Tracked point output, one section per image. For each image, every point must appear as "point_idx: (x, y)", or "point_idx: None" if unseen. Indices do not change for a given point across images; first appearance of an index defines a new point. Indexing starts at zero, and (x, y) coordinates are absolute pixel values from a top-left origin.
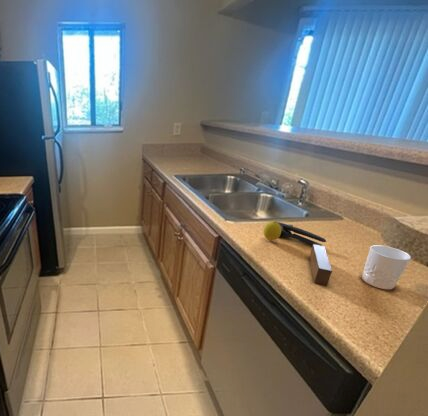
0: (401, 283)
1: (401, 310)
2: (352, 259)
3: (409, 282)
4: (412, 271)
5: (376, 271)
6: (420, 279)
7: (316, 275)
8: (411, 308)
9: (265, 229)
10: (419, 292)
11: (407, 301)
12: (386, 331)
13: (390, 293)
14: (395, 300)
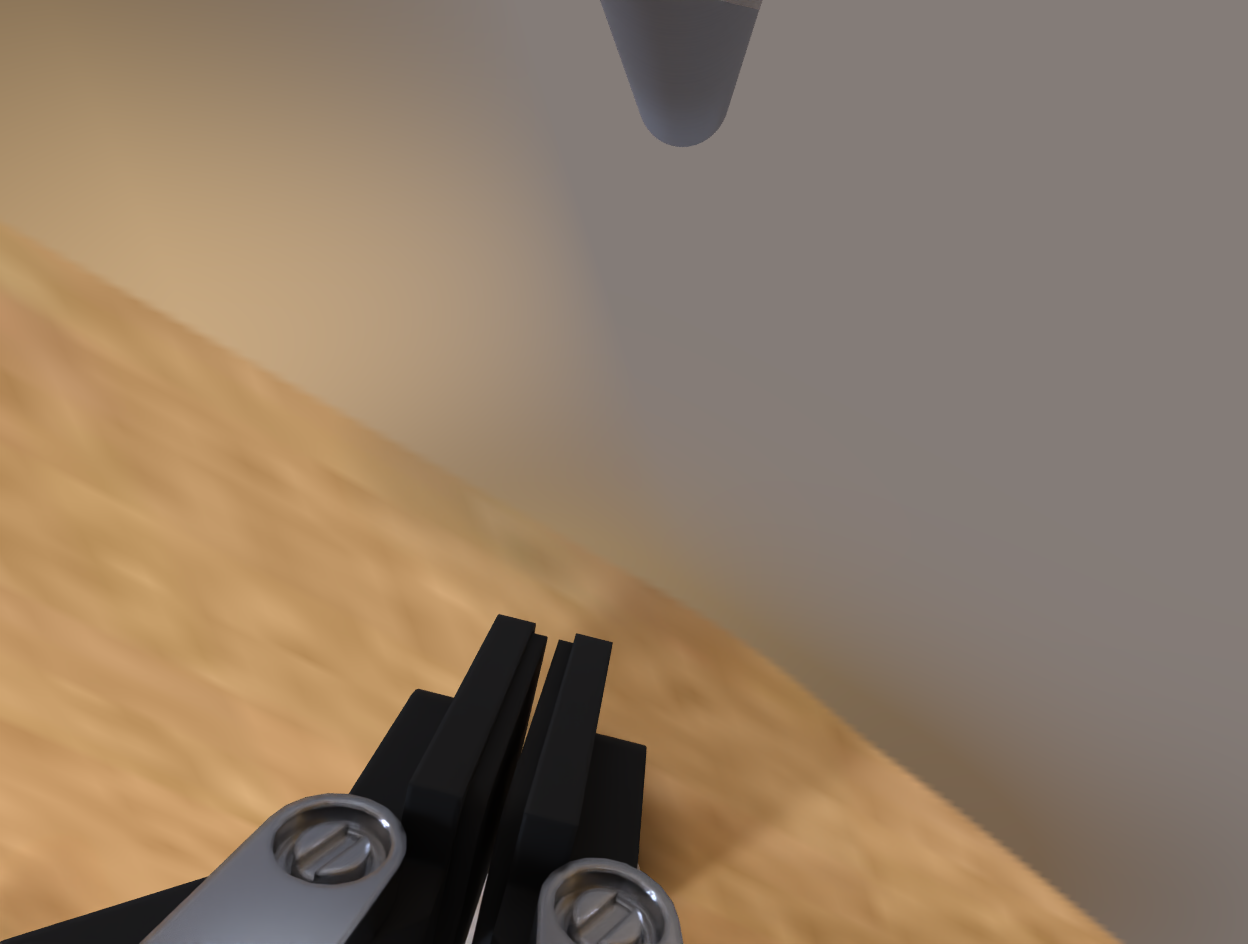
0: (444, 648)
1: (980, 917)
2: (52, 857)
3: (388, 552)
4: (70, 358)
5: None
6: (260, 385)
7: None
8: (927, 820)
9: None
10: (588, 575)
11: (808, 787)
12: None
13: (697, 855)
14: (818, 878)
